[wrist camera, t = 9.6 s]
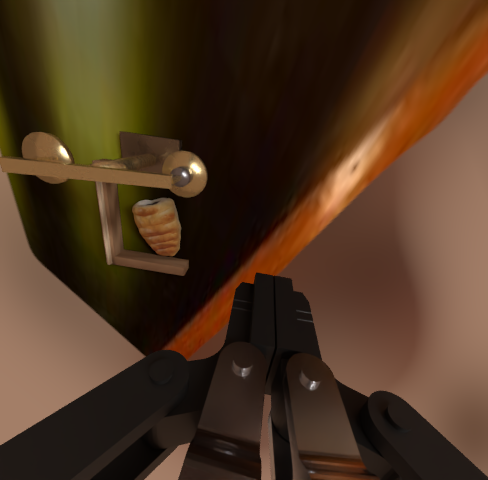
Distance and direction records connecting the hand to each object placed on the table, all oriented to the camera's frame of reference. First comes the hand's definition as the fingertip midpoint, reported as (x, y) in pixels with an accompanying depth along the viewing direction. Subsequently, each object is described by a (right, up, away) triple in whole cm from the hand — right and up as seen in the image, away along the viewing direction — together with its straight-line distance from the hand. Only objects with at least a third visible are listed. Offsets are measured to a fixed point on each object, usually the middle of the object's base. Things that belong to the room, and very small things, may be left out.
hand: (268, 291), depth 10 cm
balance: (-14, +14, +22) cm, 29 cm away
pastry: (-14, +5, +27) cm, 30 cm away
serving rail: (-16, +6, +26) cm, 31 cm away
